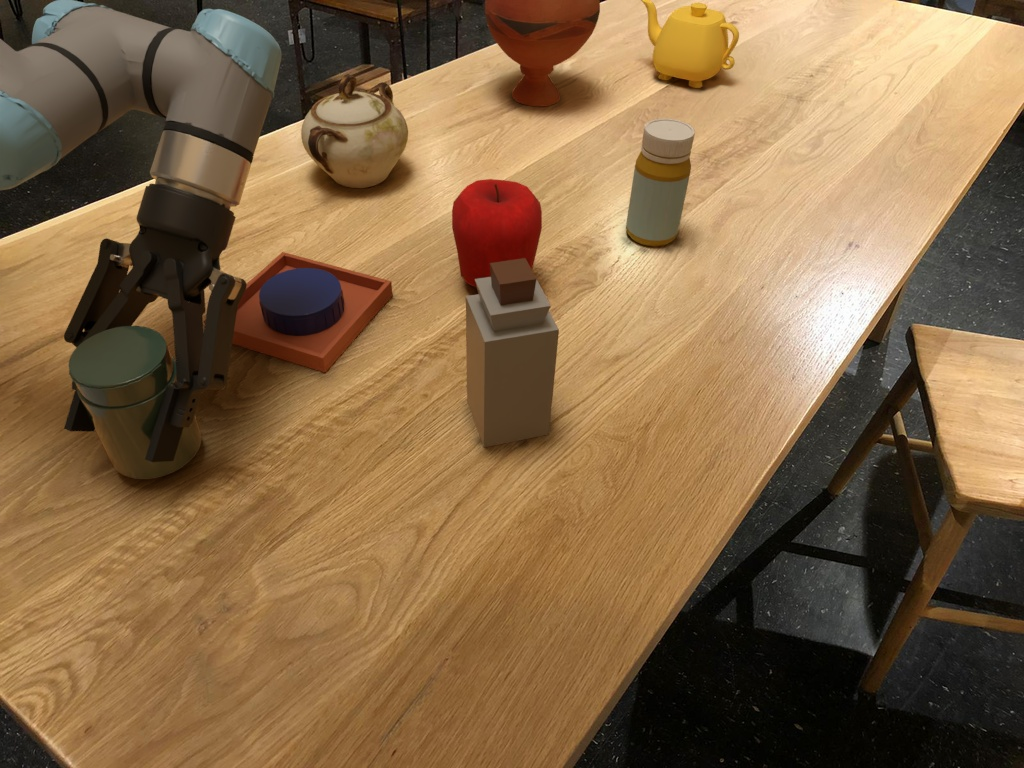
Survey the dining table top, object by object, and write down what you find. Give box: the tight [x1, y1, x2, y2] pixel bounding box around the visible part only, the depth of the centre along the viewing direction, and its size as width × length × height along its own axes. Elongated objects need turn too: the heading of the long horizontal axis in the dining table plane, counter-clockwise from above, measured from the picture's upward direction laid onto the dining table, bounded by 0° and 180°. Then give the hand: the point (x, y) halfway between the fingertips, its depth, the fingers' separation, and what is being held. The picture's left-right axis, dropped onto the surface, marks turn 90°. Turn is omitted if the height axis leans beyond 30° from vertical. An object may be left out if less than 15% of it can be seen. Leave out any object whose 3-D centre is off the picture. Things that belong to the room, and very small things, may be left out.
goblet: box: [484, 0, 601, 108], centre depth 128 cm, size 19×19×25 cm
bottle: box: [625, 118, 695, 248], centre depth 99 cm, size 7×7×15 cm
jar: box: [68, 325, 202, 480], centre depth 68 cm, size 8×8×12 cm
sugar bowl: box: [300, 73, 409, 189], centre depth 109 cm, size 20×15×15 cm
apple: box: [451, 178, 543, 289], centre depth 90 cm, size 11×10×14 cm
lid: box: [259, 268, 344, 336], centre depth 88 cm, size 9×9×3 cm
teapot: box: [640, 0, 740, 89], centre depth 142 cm, size 14×20×13 cm
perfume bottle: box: [465, 258, 560, 448], centre depth 72 cm, size 7×7×18 cm
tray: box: [203, 251, 394, 373], centre depth 88 cm, size 15×15×2 cm
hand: (118, 444), depth 67 cm, fingers closed on jar, 8 cm apart
